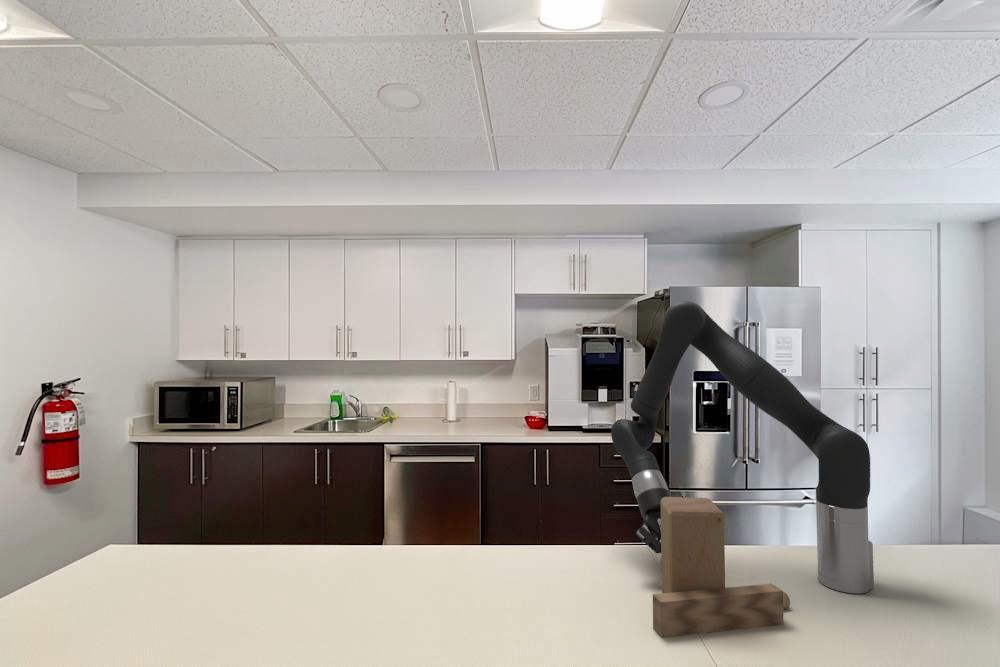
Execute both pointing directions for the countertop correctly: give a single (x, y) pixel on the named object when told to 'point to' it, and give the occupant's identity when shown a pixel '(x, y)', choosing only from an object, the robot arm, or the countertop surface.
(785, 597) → the roller
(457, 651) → the countertop surface
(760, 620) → the board
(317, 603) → the countertop surface
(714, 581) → the wooden block
